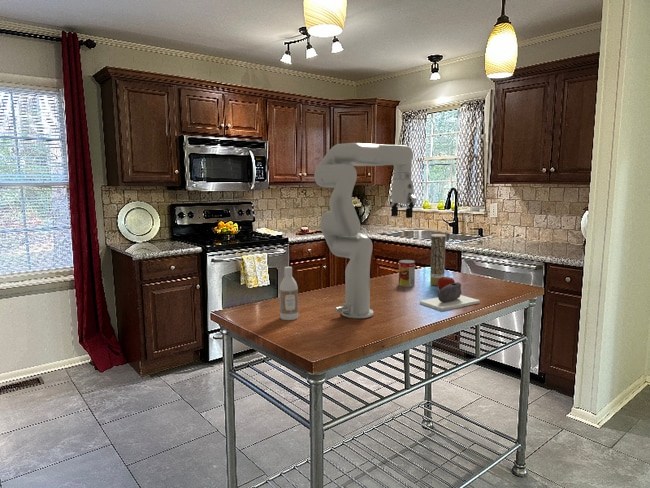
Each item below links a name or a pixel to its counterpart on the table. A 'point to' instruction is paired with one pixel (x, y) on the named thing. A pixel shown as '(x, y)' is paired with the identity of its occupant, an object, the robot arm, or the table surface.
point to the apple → (445, 282)
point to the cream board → (449, 303)
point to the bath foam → (288, 296)
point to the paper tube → (437, 258)
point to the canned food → (406, 273)
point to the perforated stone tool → (450, 292)
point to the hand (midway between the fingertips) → (401, 216)
